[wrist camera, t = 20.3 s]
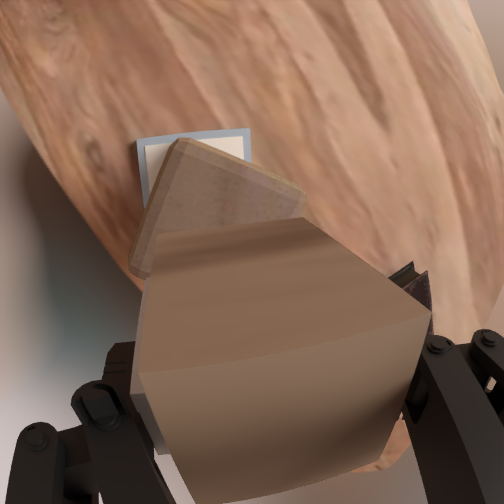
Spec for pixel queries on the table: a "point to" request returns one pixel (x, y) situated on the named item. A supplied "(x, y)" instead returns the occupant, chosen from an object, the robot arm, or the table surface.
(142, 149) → the board
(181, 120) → the table surface
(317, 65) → the table surface
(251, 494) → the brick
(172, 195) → the block
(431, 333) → the diary
